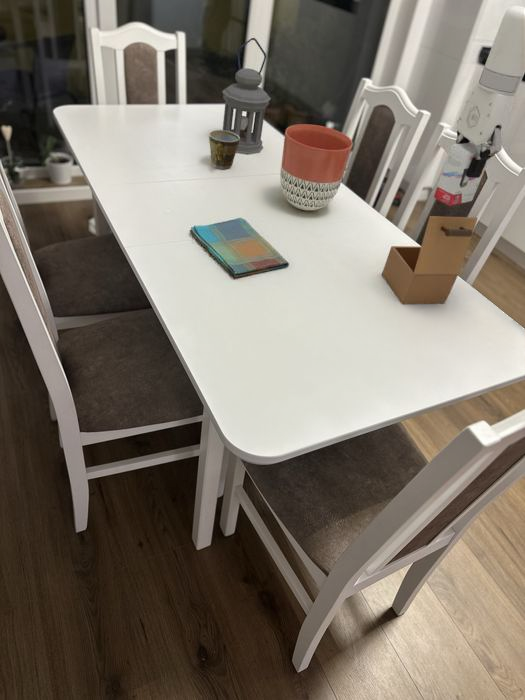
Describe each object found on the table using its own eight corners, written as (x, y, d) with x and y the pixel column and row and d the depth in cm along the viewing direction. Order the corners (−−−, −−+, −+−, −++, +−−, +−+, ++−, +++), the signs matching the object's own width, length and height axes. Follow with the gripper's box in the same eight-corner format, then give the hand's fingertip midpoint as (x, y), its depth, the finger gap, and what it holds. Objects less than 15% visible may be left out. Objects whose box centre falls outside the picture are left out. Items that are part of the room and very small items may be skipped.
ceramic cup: (211, 157, 185) (214, 127, 179) (239, 163, 185) (243, 134, 178) (200, 171, 175) (202, 140, 169) (230, 177, 175) (233, 147, 168)
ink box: (448, 207, 118) (469, 154, 110) (431, 196, 121) (450, 144, 113) (473, 201, 122) (495, 150, 115) (456, 192, 125) (476, 141, 118)
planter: (310, 188, 178) (325, 122, 164) (347, 216, 166) (366, 147, 152) (261, 195, 168) (272, 125, 154) (297, 225, 157) (312, 153, 143)
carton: (381, 274, 143) (391, 246, 138) (422, 274, 146) (433, 246, 141) (402, 304, 134) (413, 275, 128) (445, 303, 137) (458, 275, 131)
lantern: (264, 141, 204) (280, 37, 182) (260, 157, 191) (277, 48, 169) (221, 133, 204) (231, 28, 181) (214, 149, 191) (224, 38, 168)
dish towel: (243, 224, 153) (244, 215, 151) (290, 267, 139) (291, 258, 137) (188, 233, 144) (189, 224, 142) (232, 280, 130) (233, 271, 129)
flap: (429, 216, 121) (439, 222, 117) (476, 217, 124) (487, 223, 121) (413, 273, 128) (422, 281, 125) (457, 273, 131) (468, 281, 128)
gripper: (461, 67, 111) (430, 153, 122) (508, 94, 98) (469, 187, 110) (491, 70, 113) (459, 154, 124) (542, 97, 100) (500, 188, 112)
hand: (464, 169), depth 117 cm, fingers closed on ink box, 6 cm apart
